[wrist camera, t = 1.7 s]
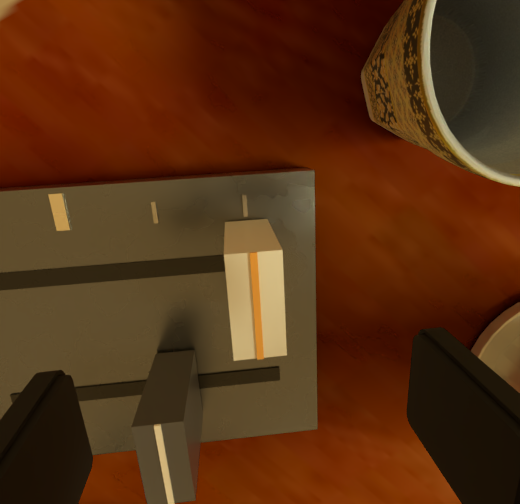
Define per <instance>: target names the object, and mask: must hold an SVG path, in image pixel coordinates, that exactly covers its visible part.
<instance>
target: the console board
mask: <svg viewBox="0 0 520 504" xmlns="http://www.w3.org/2000/svg"><path fill="white" fill-rule="evenodd" d="M258 219H268V221H269V223H270V225H271V227H272V230H273V232H274V234H275V236H276V238H277V240H278V242H279V244H280V246H281V248H282V250H283V272H284V297H285V321H286V346H287V355H286V356H276V357H266V358H264V359H259V360H257V358H256V359H246V360H236V361H234V358H233V347H232V337H231V326H230V315H229V305H228V294H227V283H226V273H225V262H224V233H225V222H231V221H245V220H258ZM188 350H195V357H196V365H197V373H198V380H199V388H200V396H201V403H202V411H203V420H202V432H201V443H202V442H210V441H219V440H228V439H236V438H245V437H254V436H263V435H271V434H280V433H289V432H297V431H306V430H315V429H317V346H316V260H315V174H314V170H312V169H310V168H292V169H277V170H262V171H247V172H233V173H218V174H203V175H188V176H173V177H158V178H143V179H128V180H113V181H99V182H84V183H69V184H54V185H39V186H24V187H9V188H0V419H1V418H2V417H3V415H4V414H5V413H6V412H7V410H8V409H9V408H10V406H11V405H12V404H13V402H14V401H15V400H16V398H17V397H18V396H19V395H20V393H21V392H22V391H23V389H24V388H25V387H26V385H27V384H28V383H29V381H30V380H31V379H32V377H33V376H34V375H35V374H36V373H39V372H46V371H55V370H62V371H64V373H65V375H71V377H72V379H73V382H74V386H75V390H76V394H77V397H78V401H79V405H80V409H81V413H82V416H83V420H84V424H85V428H86V431H87V435H88V439H89V443H90V446H91V450H92V455H97V454H106V453H115V452H123V451H132V450H136V448H135V443H134V439H133V434H132V429H131V426H132V423H133V420H134V417H135V414H136V411H137V408H138V405H139V402H140V399H141V396H142V393H143V390H144V387H145V384H146V381H147V378H148V375H149V372H150V369H151V366H152V363H153V360H154V357H155V354H157V353H168V352H178V351H188Z"/></svg>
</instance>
